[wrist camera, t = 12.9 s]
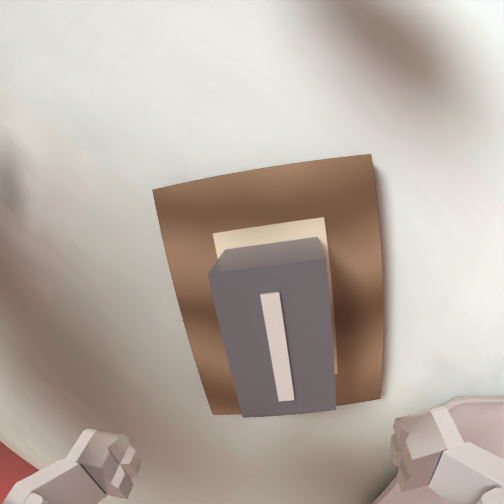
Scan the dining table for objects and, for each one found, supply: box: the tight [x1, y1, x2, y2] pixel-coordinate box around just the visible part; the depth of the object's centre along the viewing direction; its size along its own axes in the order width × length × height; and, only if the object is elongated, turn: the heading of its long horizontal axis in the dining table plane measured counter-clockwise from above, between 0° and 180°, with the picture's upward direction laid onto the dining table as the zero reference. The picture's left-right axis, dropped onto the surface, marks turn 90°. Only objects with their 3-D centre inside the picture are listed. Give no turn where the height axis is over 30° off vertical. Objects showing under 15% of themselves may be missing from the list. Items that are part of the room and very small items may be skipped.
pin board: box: [153, 154, 383, 415], centre depth 18 cm, size 16×12×4 cm
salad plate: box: [372, 396, 504, 504], centre depth 21 cm, size 21×21×3 cm
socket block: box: [208, 237, 336, 417], centre depth 16 cm, size 8×5×4 cm, turn 10°
